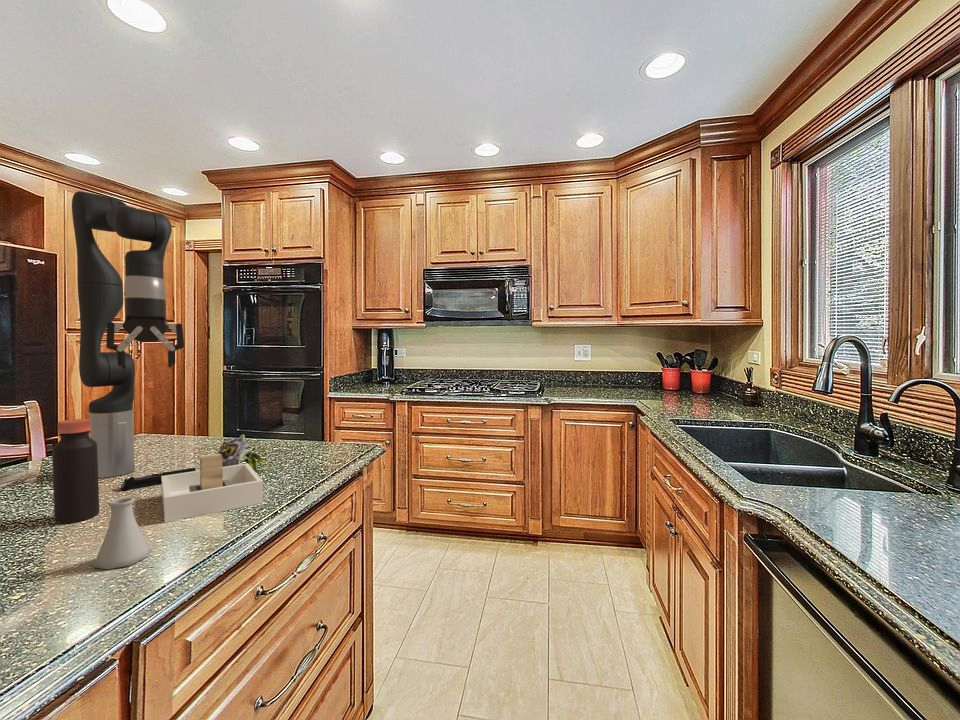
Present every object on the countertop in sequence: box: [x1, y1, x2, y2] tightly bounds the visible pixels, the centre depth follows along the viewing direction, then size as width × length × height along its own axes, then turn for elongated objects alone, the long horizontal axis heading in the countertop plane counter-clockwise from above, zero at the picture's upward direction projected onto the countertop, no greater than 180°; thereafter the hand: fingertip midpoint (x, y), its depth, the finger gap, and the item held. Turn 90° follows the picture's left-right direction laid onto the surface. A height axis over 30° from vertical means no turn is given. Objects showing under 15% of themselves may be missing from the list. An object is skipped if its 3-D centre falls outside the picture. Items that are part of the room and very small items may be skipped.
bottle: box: [51, 418, 100, 524], centre depth 90 cm, size 7×7×20 cm
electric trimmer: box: [120, 467, 196, 492], centre depth 112 cm, size 4×16×3 cm, turn 133°
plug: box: [199, 453, 223, 490], centre depth 100 cm, size 4×4×9 cm
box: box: [161, 462, 264, 523], centre depth 100 cm, size 18×18×5 cm
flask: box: [93, 496, 152, 570], centre depth 73 cm, size 7×7×10 cm
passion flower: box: [216, 433, 268, 473], centre depth 124 cm, size 11×11×12 cm
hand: (147, 367), depth 102 cm, fingers open, 8 cm apart
